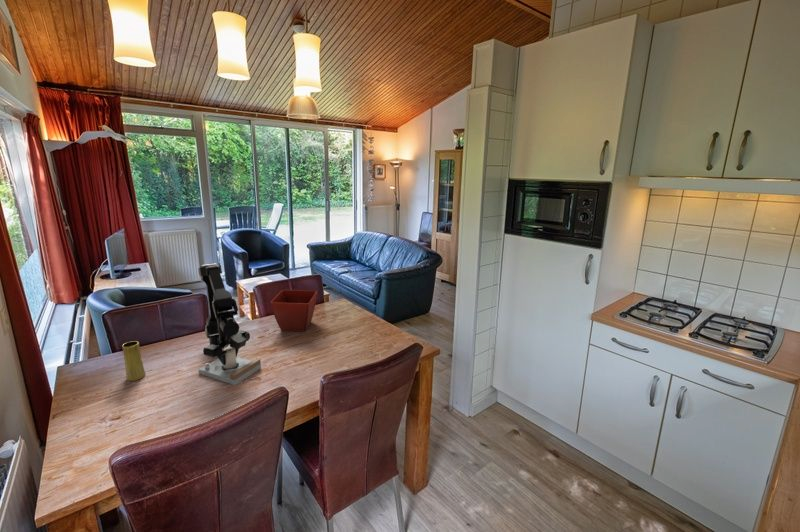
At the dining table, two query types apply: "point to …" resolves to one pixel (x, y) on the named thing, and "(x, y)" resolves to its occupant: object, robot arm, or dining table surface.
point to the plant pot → (294, 309)
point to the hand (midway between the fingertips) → (229, 361)
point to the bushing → (230, 357)
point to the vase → (133, 361)
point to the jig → (231, 376)
